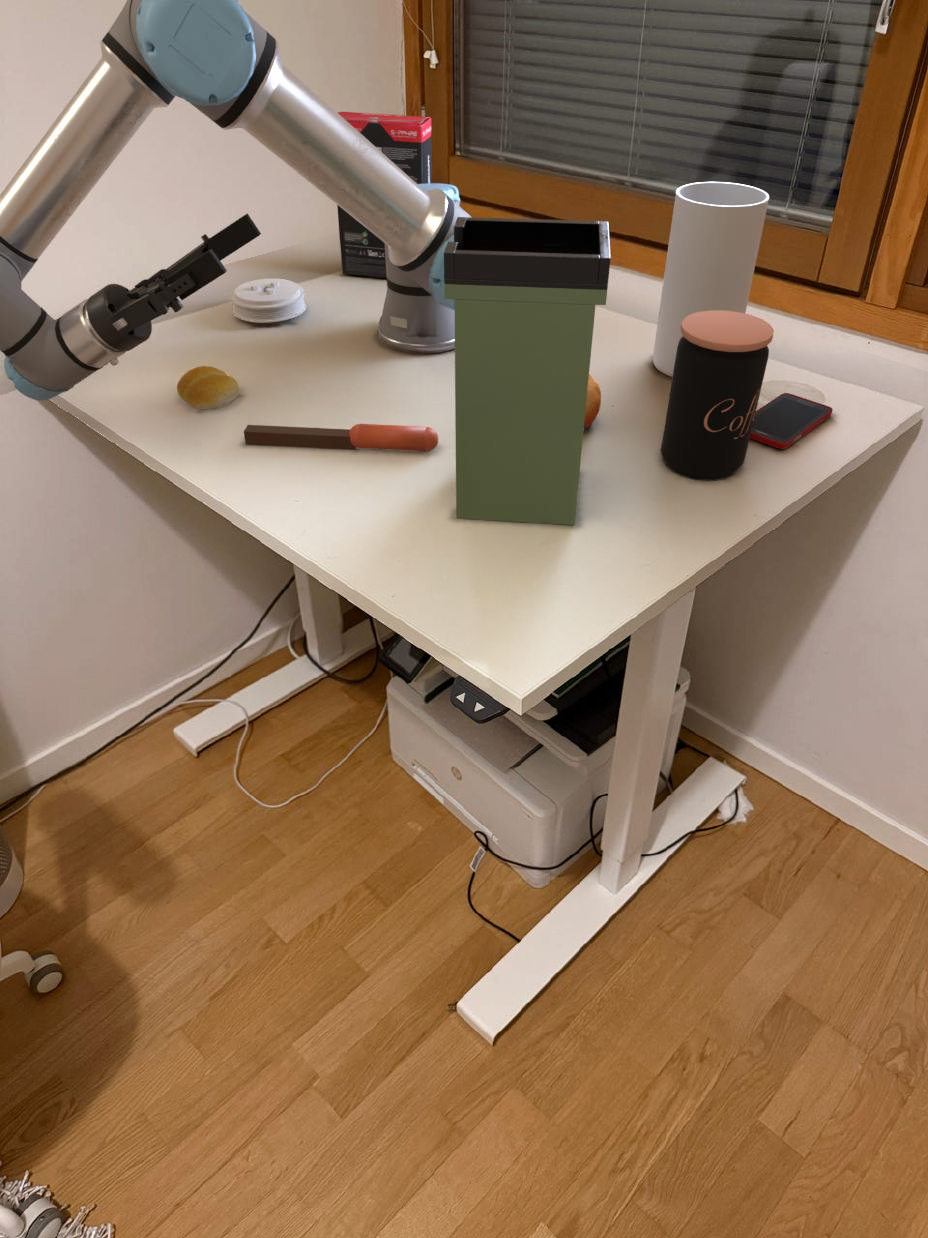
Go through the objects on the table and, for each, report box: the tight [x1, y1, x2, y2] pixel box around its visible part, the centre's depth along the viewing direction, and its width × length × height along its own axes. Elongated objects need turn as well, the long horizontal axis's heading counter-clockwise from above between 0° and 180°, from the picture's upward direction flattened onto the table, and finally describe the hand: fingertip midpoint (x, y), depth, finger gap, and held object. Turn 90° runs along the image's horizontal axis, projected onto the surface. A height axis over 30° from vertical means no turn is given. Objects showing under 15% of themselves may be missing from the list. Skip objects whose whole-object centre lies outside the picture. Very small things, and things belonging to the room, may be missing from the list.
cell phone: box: [750, 392, 833, 450], centre depth 122 cm, size 8×15×1 cm, turn 137°
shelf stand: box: [444, 284, 608, 526], centre depth 99 cm, size 16×12×28 cm
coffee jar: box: [660, 310, 775, 481], centre depth 109 cm, size 11×11×18 cm
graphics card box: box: [336, 111, 433, 279], centre depth 161 cm, size 17×7×27 cm, turn 77°
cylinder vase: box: [652, 181, 770, 378], centre depth 129 cm, size 12×12×25 cm
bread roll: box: [176, 365, 240, 410], centre depth 128 cm, size 8×9×4 cm
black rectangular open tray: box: [444, 216, 612, 291], centre depth 90 cm, size 16×12×3 cm
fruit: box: [584, 373, 602, 429], centre depth 121 cm, size 8×8×8 cm
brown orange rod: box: [243, 423, 440, 452], centre depth 117 cm, size 26×3×3 cm, turn 84°
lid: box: [229, 278, 307, 324], centre depth 152 cm, size 13×13×5 cm
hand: (237, 241), depth 102 cm, fingers open, 13 cm apart
